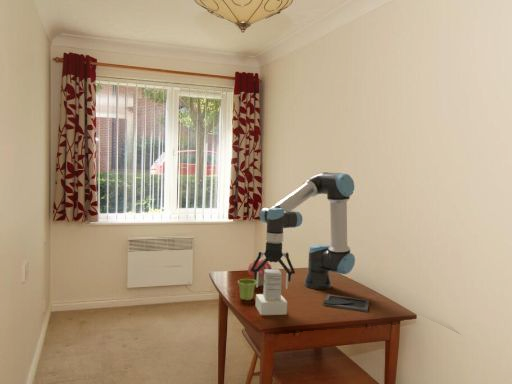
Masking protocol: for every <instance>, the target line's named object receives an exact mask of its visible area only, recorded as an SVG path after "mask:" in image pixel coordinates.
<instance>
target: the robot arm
mask: <svg viewBox="0 0 512 384" xmlns="http://www.w3.org/2000/svg"><path fill="white" fill-rule="evenodd" d="M354 191H355V182H354V179H353V177H351V175H350V174H348V173H342V172H320V173H317V174H315V175H313V176H311V177H310V178H307V179H306V180H304V182H303V183H302V185H301V186H300V187H298V188H296V189H295V190H294V191H292V192H291V193H289V194H288V195H287V196H285V197H283V198H282V199H281V200H279V201H278V202H276V203H275V204H274V205H273V206H271V207H264V208H263V207H262V209H260V211H259V216H258V218H259V220H260V221H261V222H262V223H264V224H266V235H265V236H266V238H265V241H266V242H265V251H261V250H259V251H258V255H257V257H256V258H255V260H254V261H255V262H254V264H253V266H252V267H251V271H253V272H254V275H253V280H254V279H255V280H257V281H256V285H255V288H258V287H259V286H258V275H259V272H258V271H259V270H260V269H261V268H262V267H263V266H264V265H265V263H267V262H268V263H279V264H280V265H281V266H282V268H283V269H284V270H285V271H286V275H285V290H288V287H289V282H291V280H292V279H291V276H292V275H294V274H296V272H295V269H294V266H293V264H292V262H291V259H290V258H289V257H290V254H289V252H283V240H284V239H283V238H284V229H287V228H288V229H289V228H291V229H292V228H298V227H300V226H301V225H302V223H303V215H302V213H301V212H299V211H296V210H295V209H296V208H297V207H299V206H300V205H302V204H303V203H305V202H306V201H308V200H309V199H310V198H312V197H316V196H317V195H323V194H324V195H326V196H327V197H326V198H327V199H326V200H328V201H329V203H330V205H329V206H330V207H329V208H330V209H329V210H330V245H328V244H315V245H314V244H313V245H310V247H309V251H308V262H307V263H308V267H307V273H306V274H305V278H304V282H303V285H304V286H305V287H307V288H309V289H313V290H328V289H331V288H332V281H331V277H330V272H333V273H337V274H338V275H339V274H341V275H347V274H350V273H351V272H352V270H353V268H354V266H355V262H356V257H355V255H354V253H351V247H350V246H348V201H349V200H350V197H351V196H352V195H353V194H354ZM294 210H295V211H294ZM263 256H265V258H264V259H263V260H264V261H263V262H262V263H261V264H260V265H259V266H258V267H257V268H256V269H254V268H255V267H256V265H257V263H258V261H259V260H260V259H262V258H261V257H263ZM283 257H284V258H285V259H286V262H287V264H288V266H287V265H286V263H284V261H283V260H282V258H283Z"/></svg>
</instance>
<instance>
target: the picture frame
mask: <svg viewBox="0 0 512 384" xmlns="http://www.w3.org/2000/svg"><path fill="white" fill-rule="evenodd" d="M322 305H323V307H331V308H338V309H344V310H350V311H358V312H364V313H368V311H369V305H370V300H369V299H364V298H358V297H350V296H343V295H342V296H341V295H337V294H329V293H327V294H326V297H325V298H324V301H323V302H322Z"/></svg>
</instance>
